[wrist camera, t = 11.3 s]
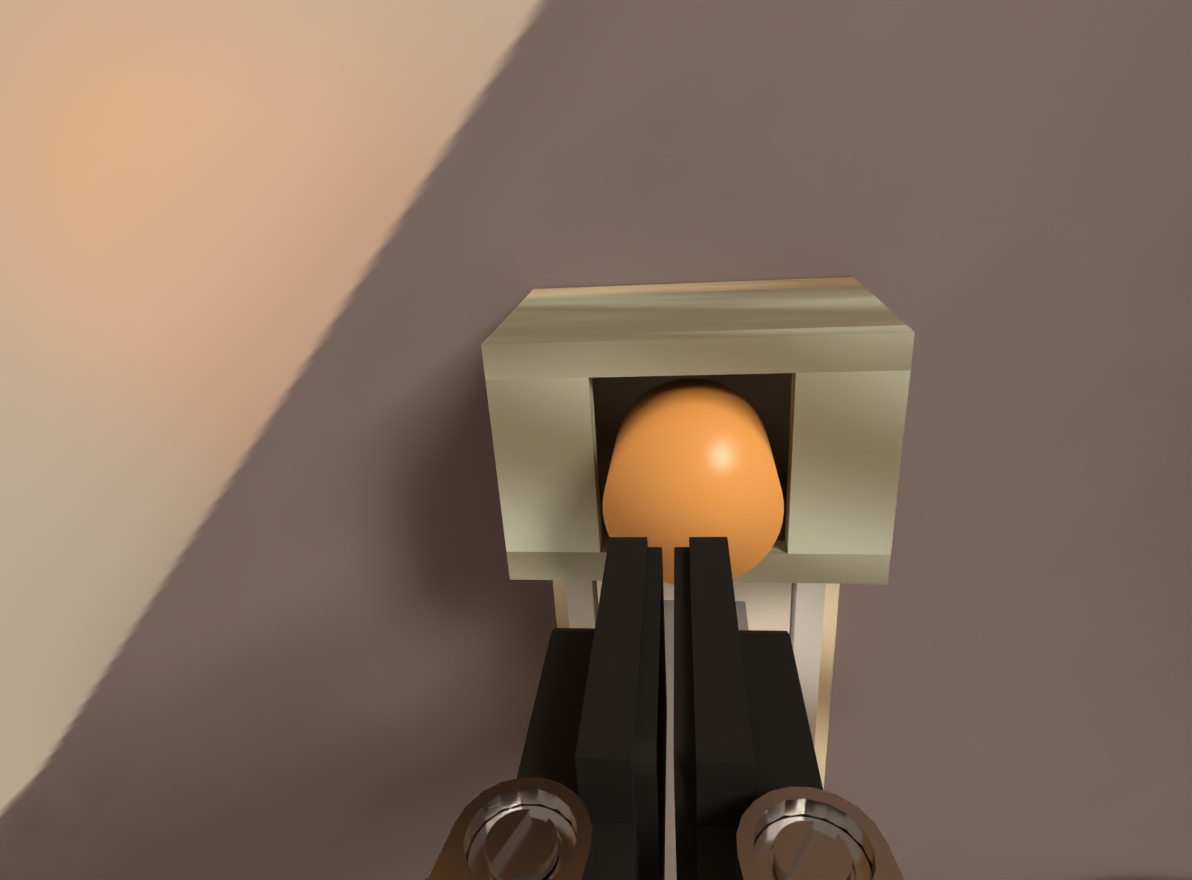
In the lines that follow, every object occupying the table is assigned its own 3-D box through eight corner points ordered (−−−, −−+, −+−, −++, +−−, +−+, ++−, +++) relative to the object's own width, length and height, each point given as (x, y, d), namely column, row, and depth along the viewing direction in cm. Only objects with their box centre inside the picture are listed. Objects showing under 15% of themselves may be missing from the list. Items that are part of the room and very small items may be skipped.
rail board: (806, 914, 30) (833, 1087, 25) (589, 899, 32) (568, 1062, 26) (853, 276, 20) (914, 332, 15) (533, 288, 22) (480, 344, 16)
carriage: (775, 656, 24) (847, 1087, 13) (613, 652, 24) (557, 1058, 14) (781, 518, 22) (870, 891, 11) (605, 518, 22) (532, 871, 12)
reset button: (766, 517, 18) (780, 588, 15) (619, 517, 18) (607, 585, 16) (770, 376, 17) (787, 426, 14) (611, 379, 17) (597, 429, 14)
